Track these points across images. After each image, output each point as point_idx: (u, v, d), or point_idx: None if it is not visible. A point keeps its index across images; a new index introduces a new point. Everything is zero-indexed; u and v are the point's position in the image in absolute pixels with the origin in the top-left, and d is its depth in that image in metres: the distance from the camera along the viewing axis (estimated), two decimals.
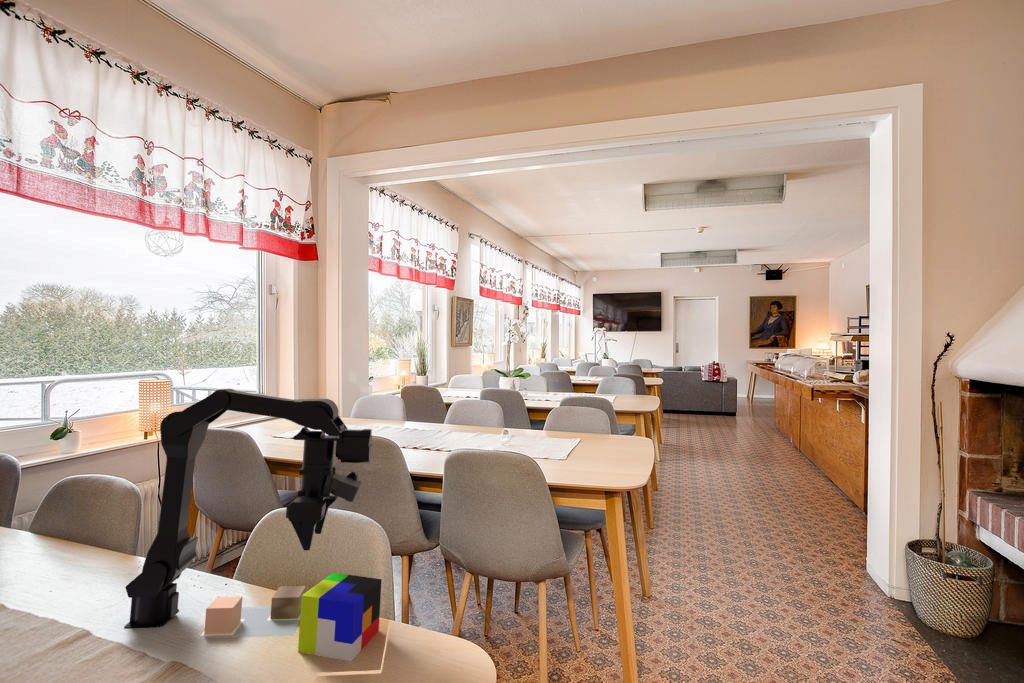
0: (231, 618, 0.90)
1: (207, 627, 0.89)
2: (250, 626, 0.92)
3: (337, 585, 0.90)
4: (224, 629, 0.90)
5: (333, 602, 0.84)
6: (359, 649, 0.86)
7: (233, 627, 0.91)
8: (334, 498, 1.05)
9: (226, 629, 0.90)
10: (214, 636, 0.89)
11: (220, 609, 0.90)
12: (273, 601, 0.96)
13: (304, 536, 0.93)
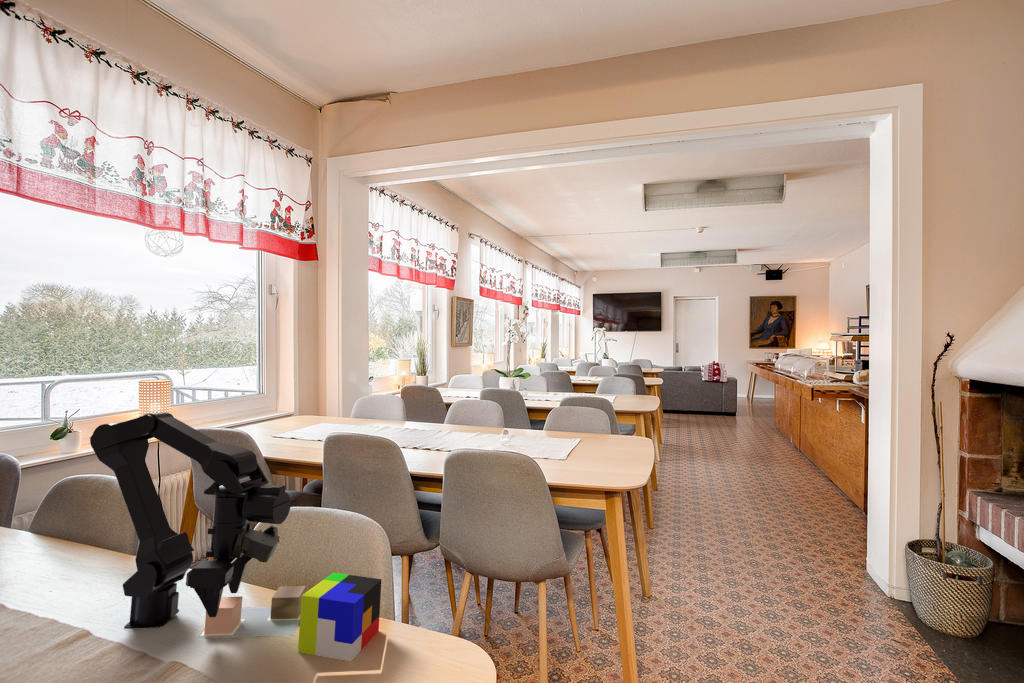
0: (231, 618, 0.90)
1: (207, 627, 0.89)
2: (250, 626, 0.92)
3: (337, 585, 0.90)
4: (224, 629, 0.90)
5: (333, 602, 0.84)
6: (359, 649, 0.86)
7: (233, 627, 0.91)
8: None
9: (226, 629, 0.90)
10: (214, 636, 0.89)
11: (220, 609, 0.90)
12: (273, 601, 0.96)
13: (209, 602, 0.87)
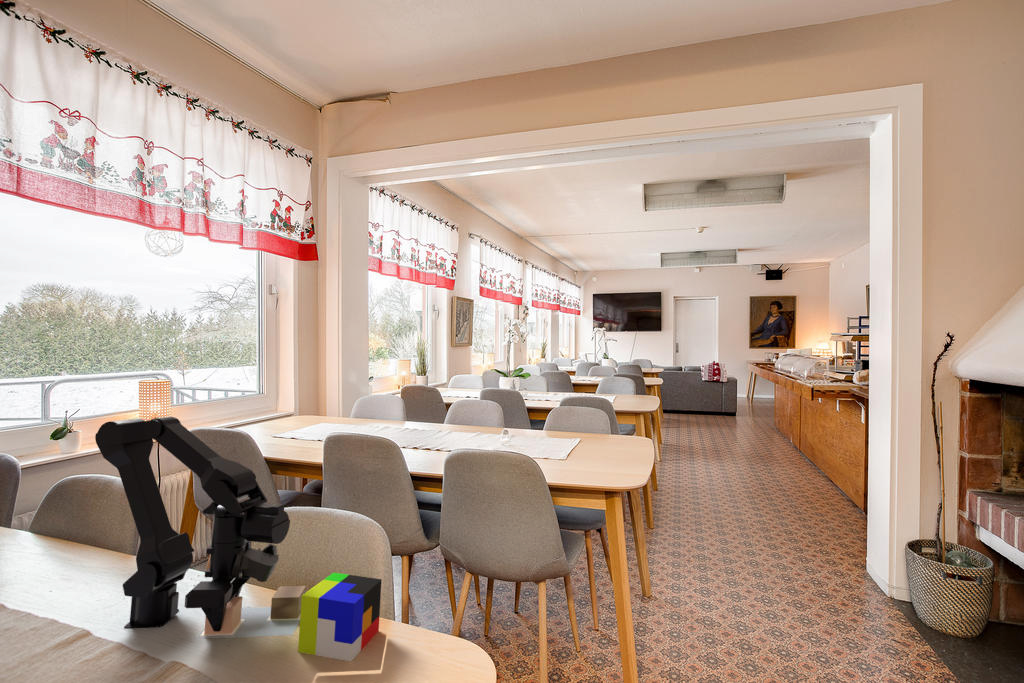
0: (231, 618, 0.90)
1: (207, 627, 0.89)
2: (250, 626, 0.92)
3: (337, 585, 0.90)
4: (224, 629, 0.90)
5: (333, 602, 0.84)
6: (359, 649, 0.86)
7: (233, 627, 0.91)
8: (248, 577, 0.96)
9: (226, 629, 0.90)
10: (214, 636, 0.89)
11: None
12: (273, 601, 0.96)
13: (214, 617, 0.89)
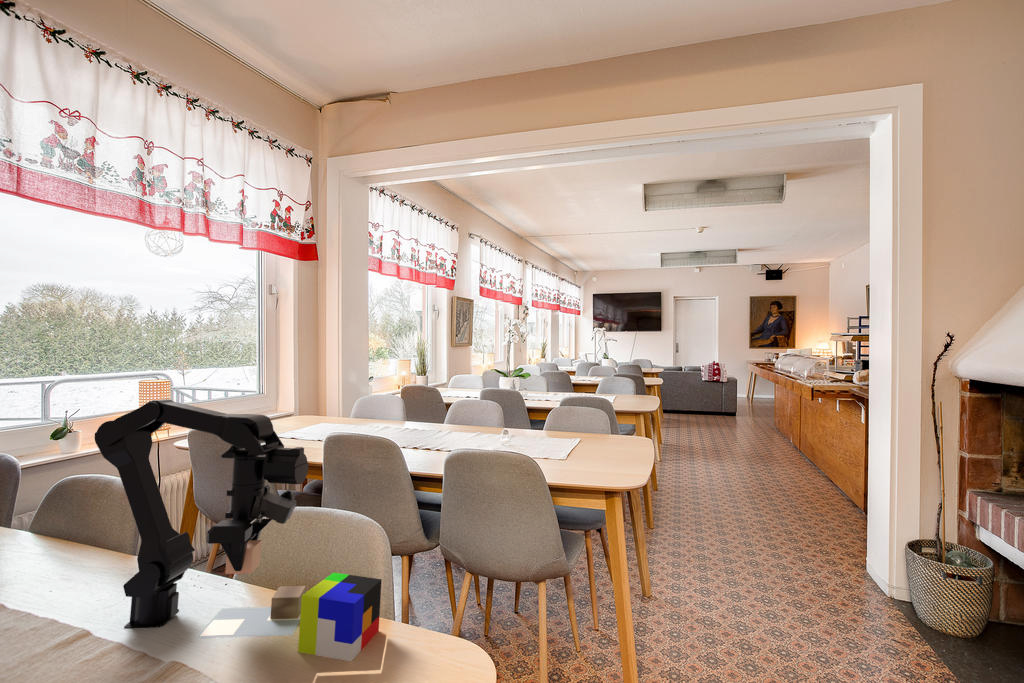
0: (251, 558, 0.92)
1: (228, 567, 0.91)
2: (250, 626, 0.92)
3: (337, 585, 0.90)
4: (244, 569, 0.92)
5: (333, 602, 0.84)
6: (359, 649, 0.86)
7: (253, 568, 0.93)
8: (266, 522, 0.98)
9: (246, 569, 0.92)
10: (214, 636, 0.89)
11: None
12: (273, 601, 0.96)
13: (234, 556, 0.90)
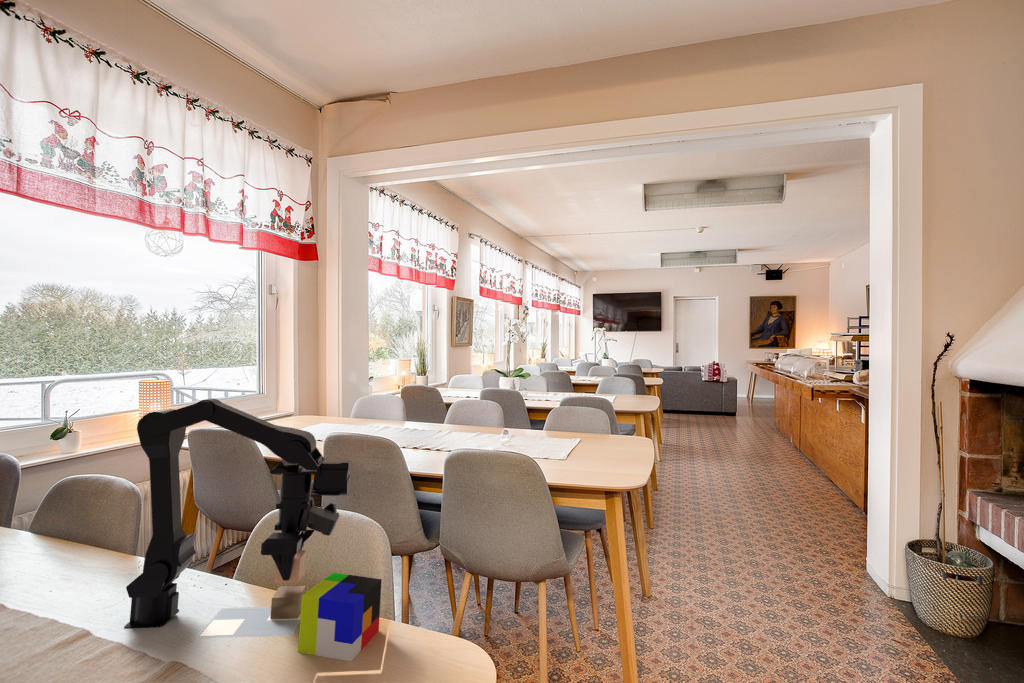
0: (299, 568, 0.97)
1: (276, 576, 0.96)
2: (250, 626, 0.92)
3: (337, 585, 0.90)
4: (292, 578, 0.97)
5: (333, 602, 0.84)
6: (359, 649, 0.86)
7: (300, 577, 0.98)
8: (310, 533, 1.03)
9: (294, 578, 0.97)
10: (214, 636, 0.89)
11: None
12: (273, 601, 0.96)
13: (283, 567, 0.95)
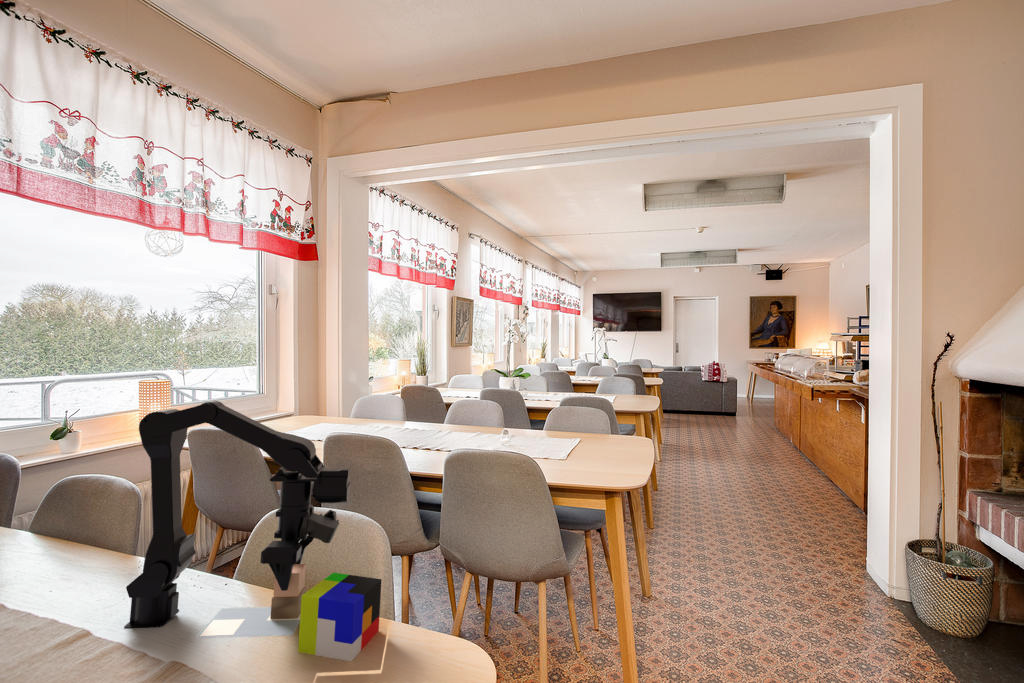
0: (298, 582, 0.97)
1: (276, 590, 0.96)
2: (250, 626, 0.92)
3: (337, 585, 0.90)
4: (291, 593, 0.96)
5: (333, 602, 0.84)
6: (359, 649, 0.86)
7: (299, 591, 0.98)
8: (311, 539, 1.04)
9: (293, 593, 0.96)
10: (214, 636, 0.89)
11: None
12: (273, 601, 0.96)
13: (282, 577, 0.94)
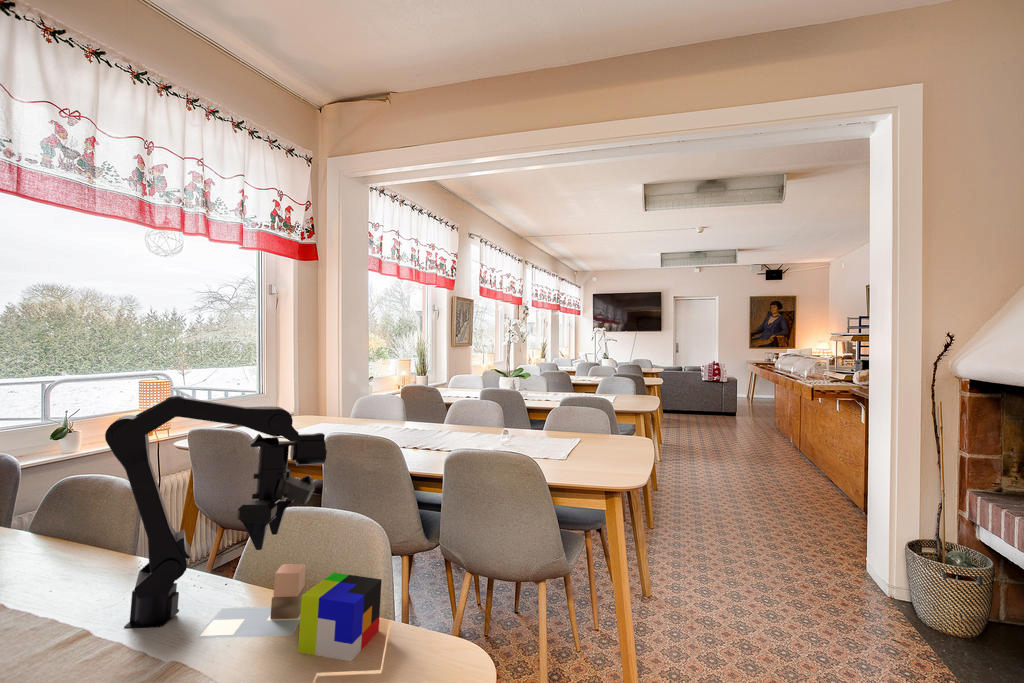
0: (298, 582, 0.97)
1: (276, 590, 0.96)
2: (250, 626, 0.92)
3: (337, 585, 0.90)
4: (291, 593, 0.96)
5: (333, 602, 0.84)
6: (359, 649, 0.86)
7: (299, 591, 0.98)
8: (290, 501, 1.11)
9: (293, 593, 0.96)
10: (214, 636, 0.89)
11: (287, 574, 0.96)
12: (273, 601, 0.96)
13: (256, 536, 0.99)
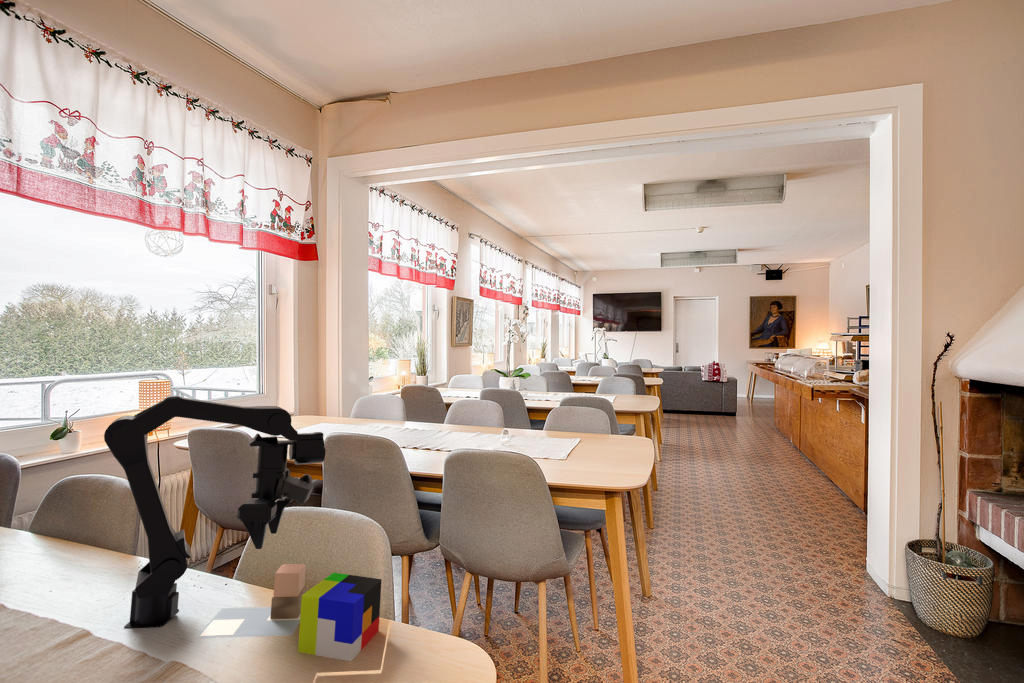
0: (298, 582, 0.97)
1: (276, 590, 0.96)
2: (250, 626, 0.92)
3: (337, 585, 0.90)
4: (291, 593, 0.96)
5: (333, 602, 0.84)
6: (359, 649, 0.86)
7: (299, 591, 0.98)
8: (289, 500, 1.11)
9: (293, 593, 0.96)
10: (214, 636, 0.89)
11: (287, 574, 0.96)
12: (273, 601, 0.96)
13: (256, 535, 0.99)
